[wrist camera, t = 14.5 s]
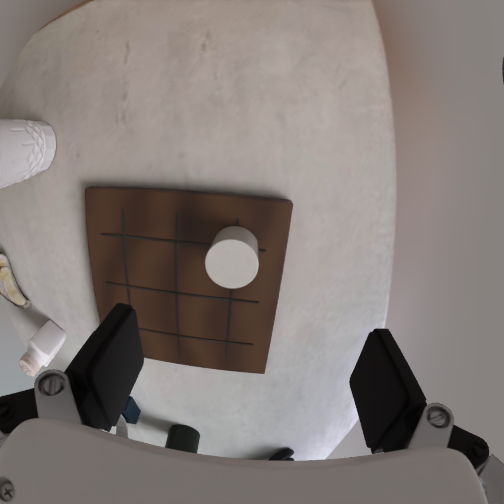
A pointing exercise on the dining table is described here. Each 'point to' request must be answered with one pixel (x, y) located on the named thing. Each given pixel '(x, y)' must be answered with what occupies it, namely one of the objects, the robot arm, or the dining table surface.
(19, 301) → the oyster shell
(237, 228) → the white cylinder
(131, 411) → the watch
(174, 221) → the board
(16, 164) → the white cup
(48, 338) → the pepper shaker
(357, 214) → the dining table surface
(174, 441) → the wine bottle
